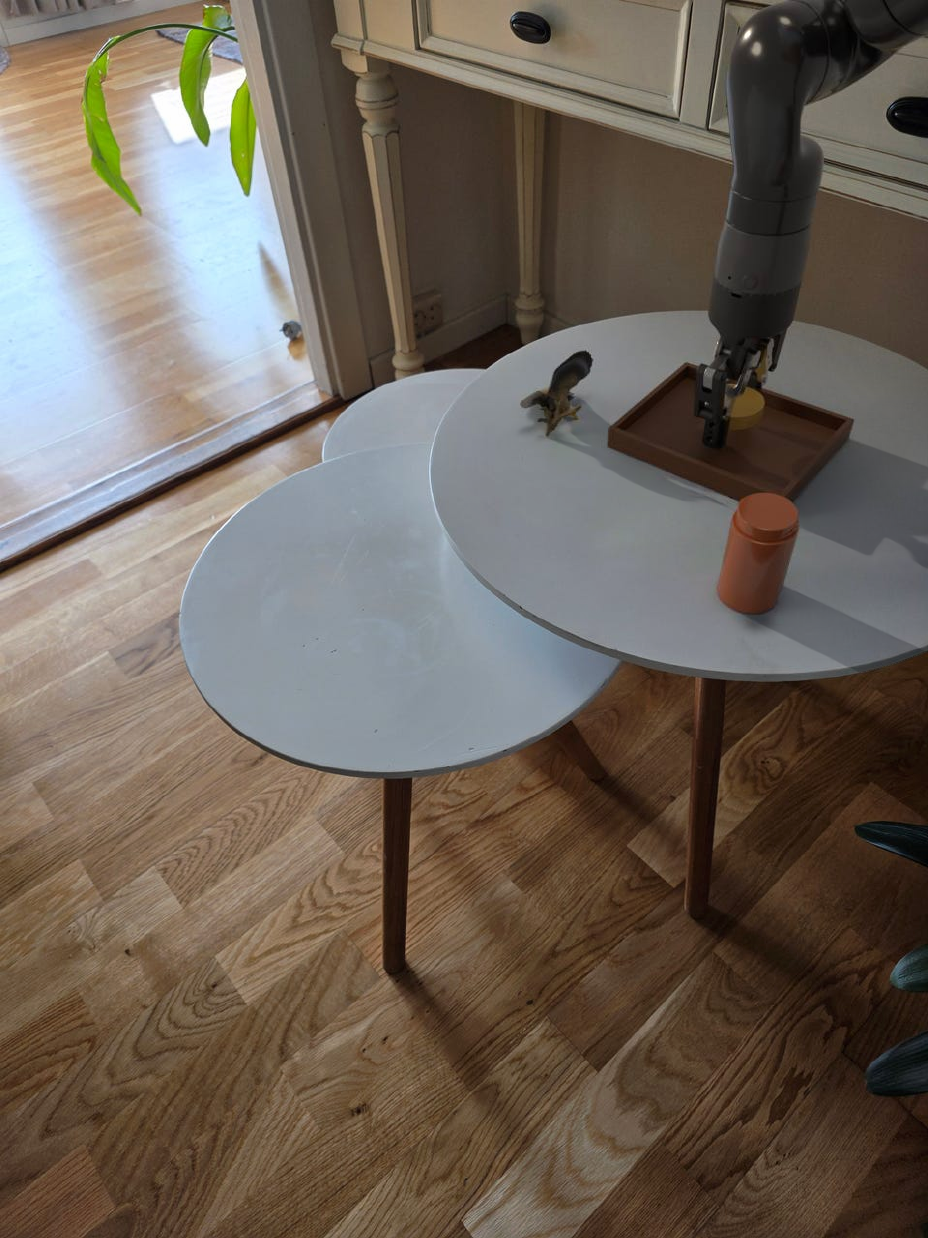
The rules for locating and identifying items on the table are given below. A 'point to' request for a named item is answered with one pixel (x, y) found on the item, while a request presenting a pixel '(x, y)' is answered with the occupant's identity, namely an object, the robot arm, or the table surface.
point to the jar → (758, 552)
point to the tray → (731, 440)
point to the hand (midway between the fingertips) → (728, 430)
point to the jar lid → (746, 409)
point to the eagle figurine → (560, 390)
